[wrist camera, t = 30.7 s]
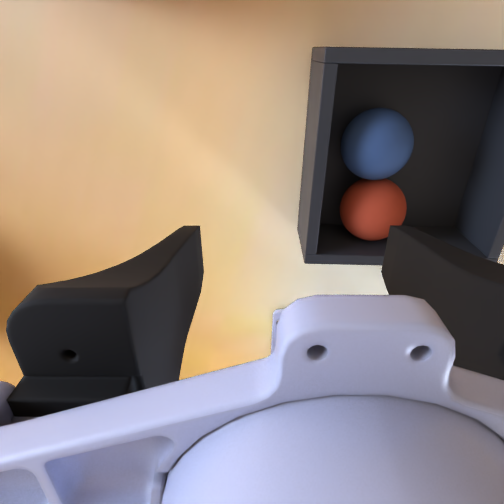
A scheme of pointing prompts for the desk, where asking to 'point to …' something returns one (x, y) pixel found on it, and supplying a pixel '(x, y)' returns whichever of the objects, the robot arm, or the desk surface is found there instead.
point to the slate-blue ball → (377, 143)
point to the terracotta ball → (372, 208)
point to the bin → (424, 150)
